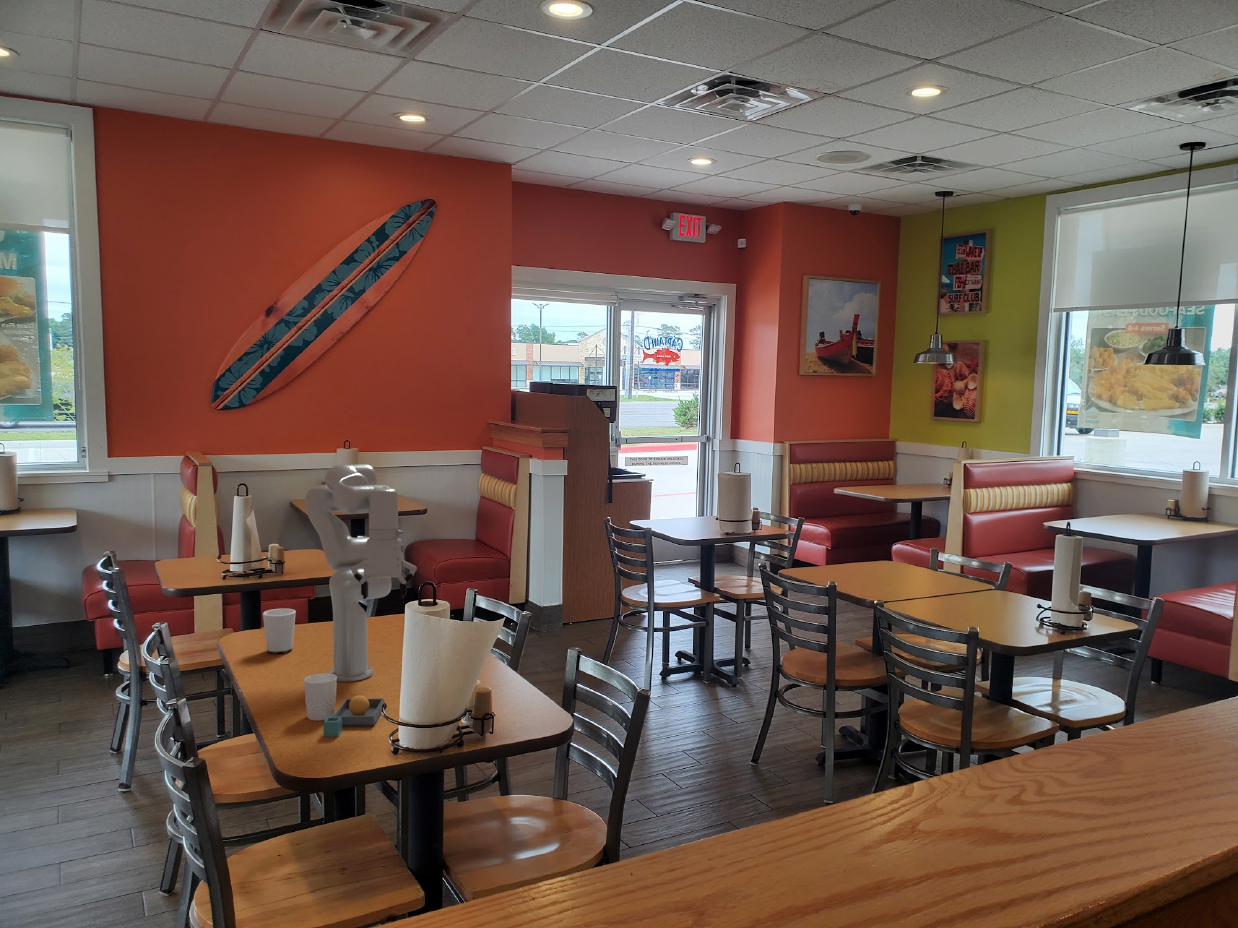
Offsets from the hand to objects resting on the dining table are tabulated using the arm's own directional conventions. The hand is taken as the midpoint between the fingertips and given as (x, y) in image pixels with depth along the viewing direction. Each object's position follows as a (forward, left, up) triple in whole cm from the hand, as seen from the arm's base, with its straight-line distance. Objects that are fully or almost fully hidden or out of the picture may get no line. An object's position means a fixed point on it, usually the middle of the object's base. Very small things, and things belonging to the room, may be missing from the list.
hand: (383, 597), depth 236 cm
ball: (+12, -4, -25) cm, 28 cm away
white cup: (+11, -14, -28) cm, 34 cm away
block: (+23, -8, -28) cm, 37 cm away
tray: (+12, -4, -28) cm, 31 cm away
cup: (-47, -42, -28) cm, 69 cm away
